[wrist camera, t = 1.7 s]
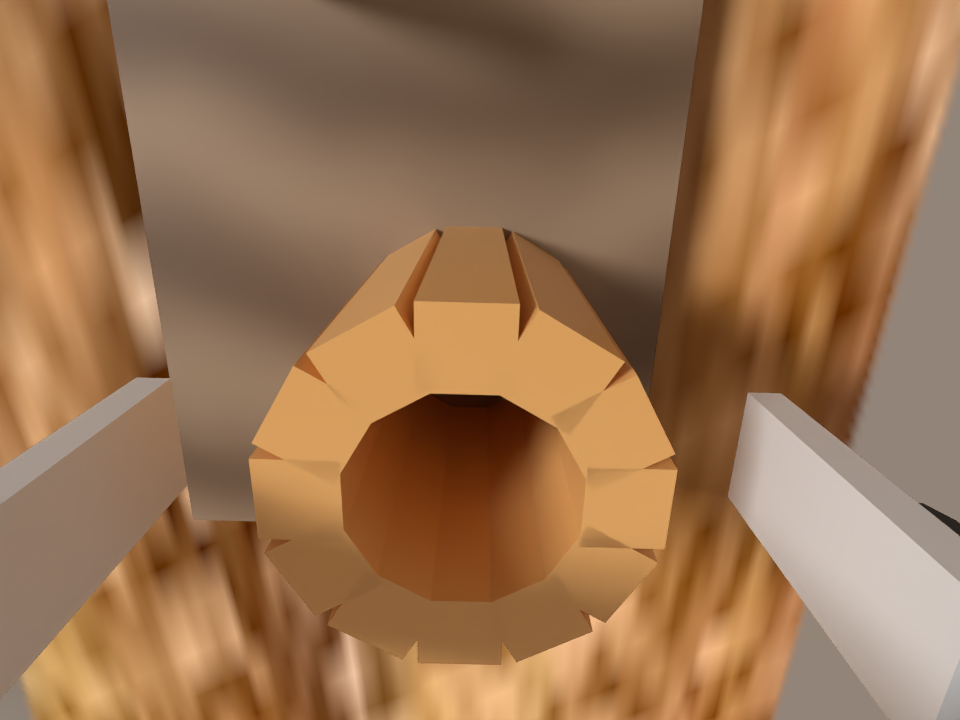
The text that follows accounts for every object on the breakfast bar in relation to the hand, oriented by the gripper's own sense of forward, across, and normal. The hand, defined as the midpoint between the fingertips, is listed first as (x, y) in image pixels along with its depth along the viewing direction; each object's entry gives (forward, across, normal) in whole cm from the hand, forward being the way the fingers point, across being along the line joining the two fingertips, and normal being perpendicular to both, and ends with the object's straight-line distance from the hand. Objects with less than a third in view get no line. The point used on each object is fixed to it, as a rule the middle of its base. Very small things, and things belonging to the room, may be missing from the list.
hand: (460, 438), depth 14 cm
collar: (+6, 0, 0) cm, 6 cm away
